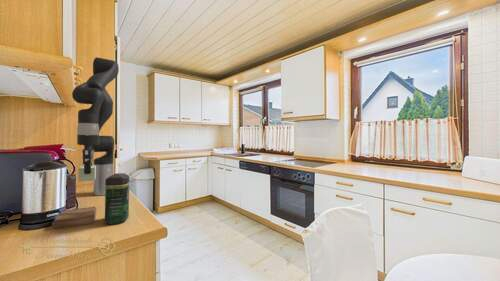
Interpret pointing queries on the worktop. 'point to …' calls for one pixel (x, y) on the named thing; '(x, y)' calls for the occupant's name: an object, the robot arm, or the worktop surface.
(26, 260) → the worktop surface
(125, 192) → the coffee jar
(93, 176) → the sage cube
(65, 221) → the walnut base
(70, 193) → the supplement box
